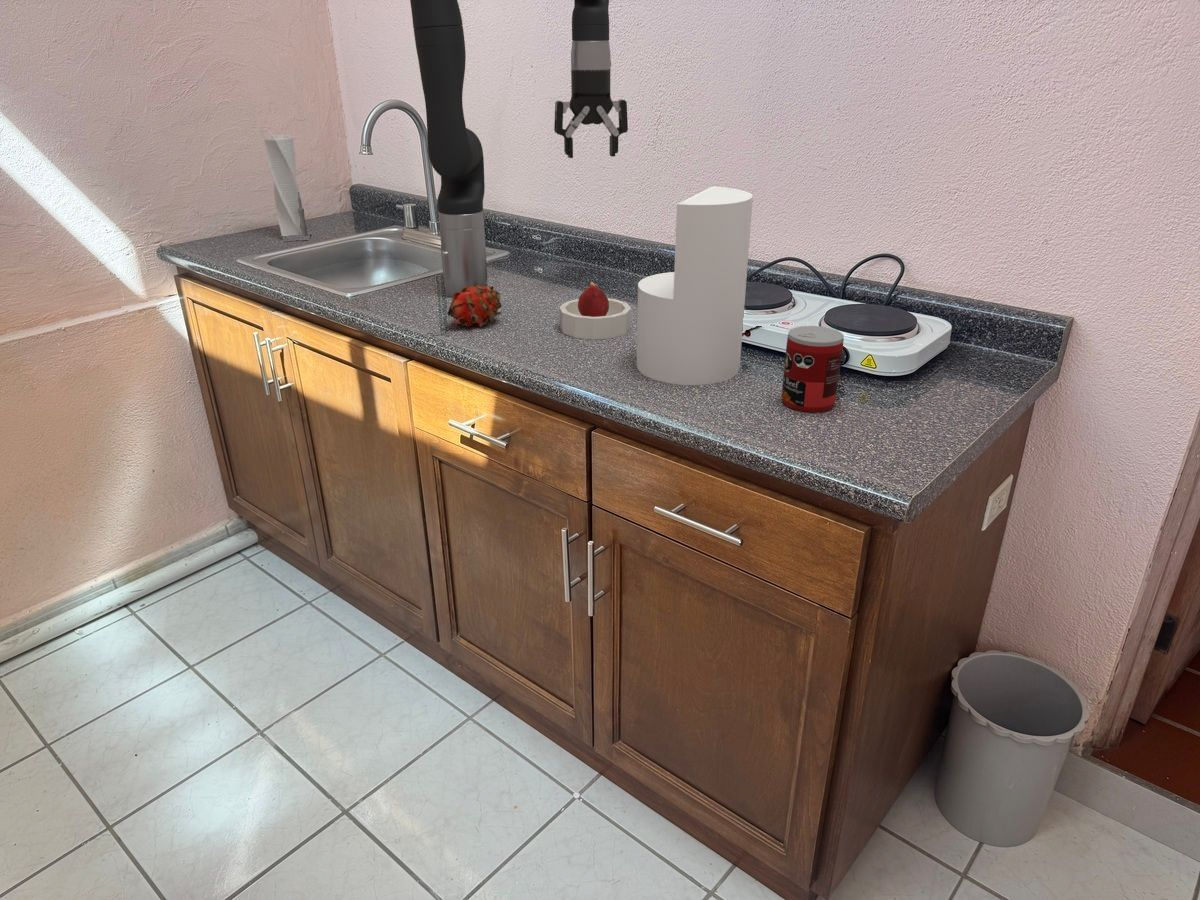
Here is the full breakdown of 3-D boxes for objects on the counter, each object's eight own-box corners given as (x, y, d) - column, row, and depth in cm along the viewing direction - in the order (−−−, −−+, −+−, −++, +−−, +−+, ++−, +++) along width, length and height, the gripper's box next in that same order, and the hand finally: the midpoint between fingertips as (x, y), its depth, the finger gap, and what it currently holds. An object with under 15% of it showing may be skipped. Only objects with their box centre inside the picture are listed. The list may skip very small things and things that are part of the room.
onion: (612, 321, 161) (612, 279, 157) (603, 330, 156) (603, 287, 152) (584, 318, 163) (583, 277, 159) (573, 327, 158) (573, 285, 154)
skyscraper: (276, 242, 225) (257, 130, 213) (280, 235, 233) (261, 127, 220) (309, 240, 227) (291, 130, 214) (311, 234, 234) (295, 127, 222)
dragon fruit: (507, 326, 166) (456, 347, 160) (484, 294, 168) (432, 314, 162) (516, 299, 159) (462, 320, 153) (491, 266, 161) (437, 286, 155)
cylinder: (751, 356, 146) (765, 189, 133) (722, 392, 131) (734, 208, 119) (657, 343, 152) (662, 182, 139) (620, 375, 138) (622, 199, 125)
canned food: (775, 394, 131) (781, 326, 126) (825, 392, 131) (834, 324, 126) (789, 414, 124) (796, 343, 119) (842, 412, 124) (851, 341, 119)
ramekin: (567, 341, 153) (567, 320, 151) (555, 320, 164) (555, 300, 162) (637, 336, 155) (637, 315, 153) (620, 315, 167) (620, 296, 165)
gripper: (622, 66, 165) (621, 153, 172) (550, 66, 162) (552, 155, 169) (631, 67, 158) (630, 158, 165) (557, 68, 155) (559, 160, 163)
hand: (591, 156), depth 167 cm, fingers open, 8 cm apart
